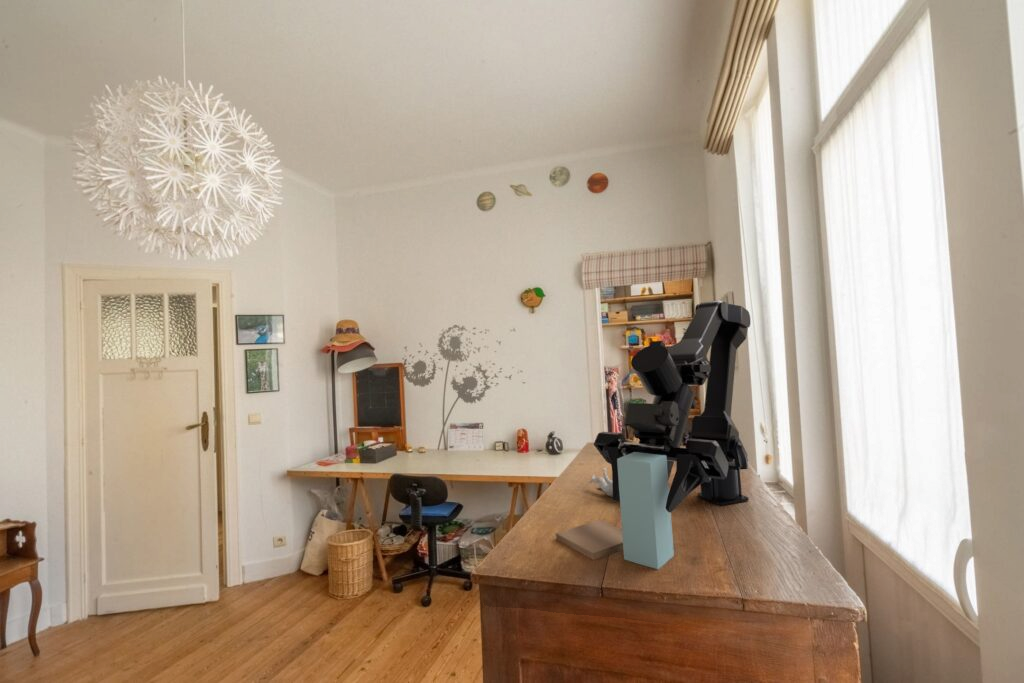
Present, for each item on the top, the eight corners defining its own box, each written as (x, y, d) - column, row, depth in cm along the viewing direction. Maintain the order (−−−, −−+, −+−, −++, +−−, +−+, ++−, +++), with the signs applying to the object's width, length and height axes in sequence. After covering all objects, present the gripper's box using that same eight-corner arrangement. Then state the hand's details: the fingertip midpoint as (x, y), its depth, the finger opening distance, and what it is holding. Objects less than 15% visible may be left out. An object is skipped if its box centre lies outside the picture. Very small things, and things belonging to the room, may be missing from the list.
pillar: (641, 546, 66) (634, 451, 66) (673, 555, 62) (666, 455, 63) (624, 559, 62) (617, 458, 63) (658, 569, 59) (650, 463, 59)
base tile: (599, 528, 75) (599, 519, 75) (639, 546, 67) (638, 536, 67) (556, 542, 71) (555, 533, 71) (593, 564, 63) (593, 553, 63)
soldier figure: (613, 490, 97) (650, 485, 87) (605, 510, 94) (642, 506, 84) (587, 468, 96) (621, 460, 86) (577, 487, 93) (611, 481, 83)
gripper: (595, 382, 73) (559, 465, 64) (714, 380, 60) (687, 484, 51) (623, 423, 78) (593, 504, 70) (737, 430, 65) (717, 531, 57)
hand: (640, 505), depth 62 cm, fingers open, 8 cm apart
